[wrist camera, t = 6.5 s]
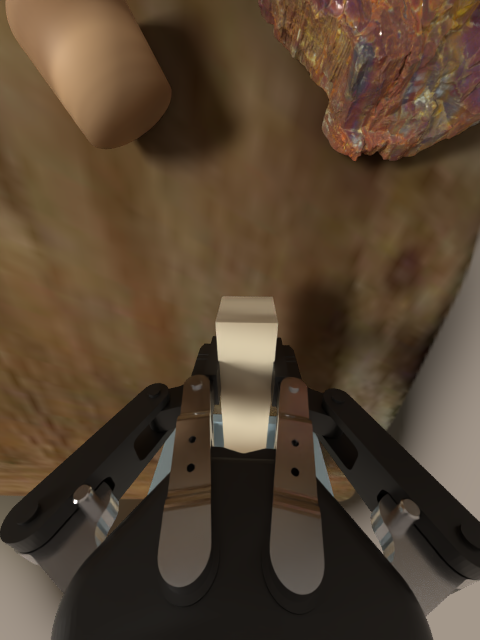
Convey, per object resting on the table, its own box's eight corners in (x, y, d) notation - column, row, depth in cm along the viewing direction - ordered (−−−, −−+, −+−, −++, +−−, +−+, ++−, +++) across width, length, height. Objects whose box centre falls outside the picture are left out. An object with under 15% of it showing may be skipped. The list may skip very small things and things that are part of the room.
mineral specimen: (279, 198, 14) (285, 85, 7) (260, 82, 14) (247, -132, 7) (498, 145, 12) (775, -72, 5) (471, 13, 12) (705, -350, 6)
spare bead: (70, 79, 13) (-22, 22, 8) (134, 8, 11) (63, -103, 7) (121, 154, 14) (66, 139, 10) (182, 101, 13) (148, 57, 9)
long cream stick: (222, 296, 13) (215, 322, 11) (272, 297, 13) (278, 323, 11) (231, 478, 24) (228, 513, 22) (258, 480, 24) (259, 514, 22)
